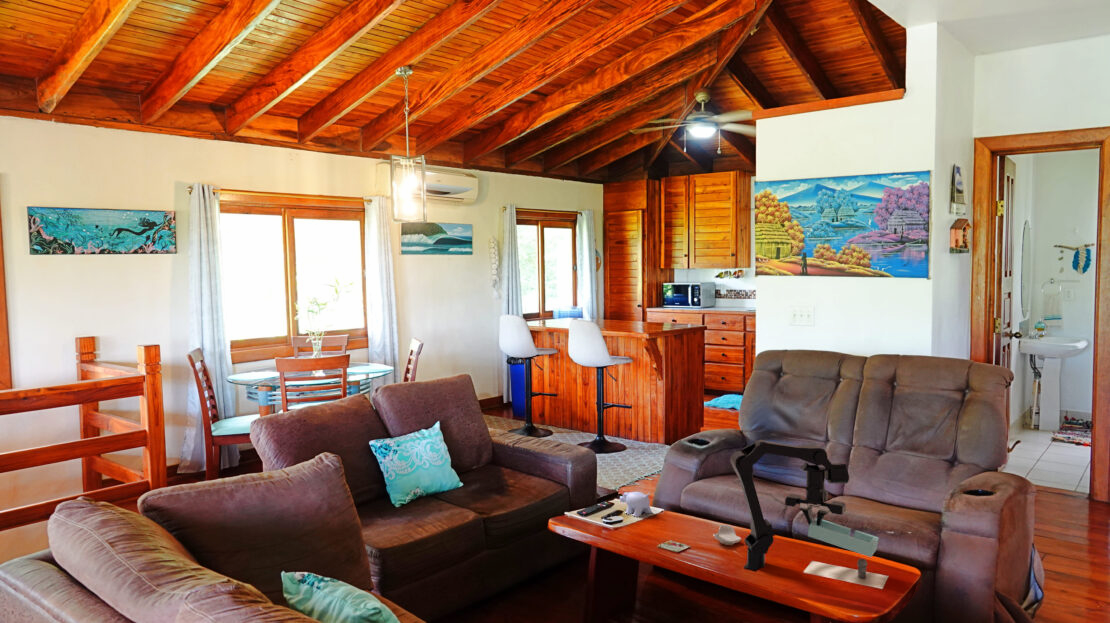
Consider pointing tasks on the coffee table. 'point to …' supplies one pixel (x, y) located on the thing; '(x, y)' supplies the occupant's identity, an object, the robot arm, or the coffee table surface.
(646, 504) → the grey bear figurine
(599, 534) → the coffee table surface
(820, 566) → the post stand
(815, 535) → the mint green notched block
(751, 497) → the robot arm
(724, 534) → the pottery shard
